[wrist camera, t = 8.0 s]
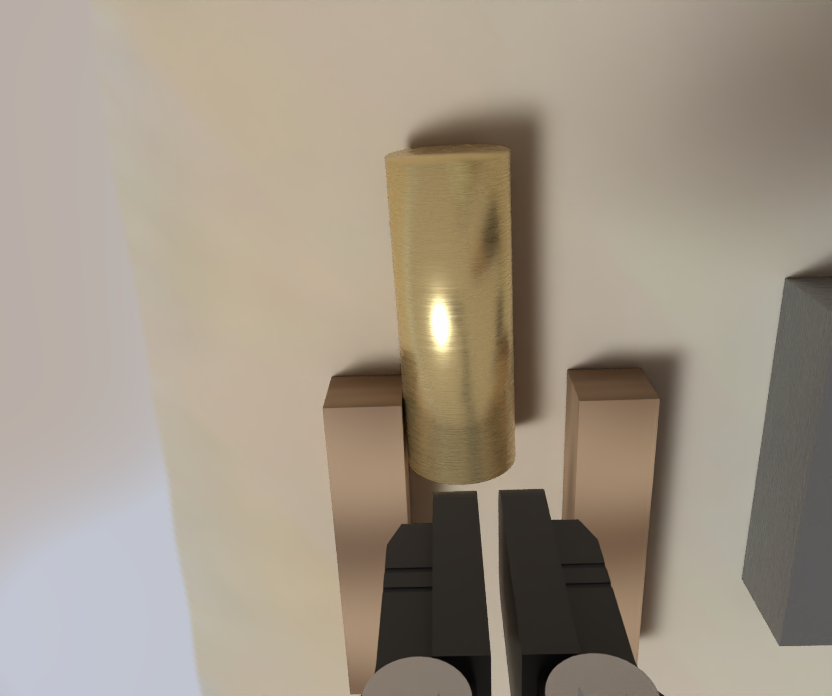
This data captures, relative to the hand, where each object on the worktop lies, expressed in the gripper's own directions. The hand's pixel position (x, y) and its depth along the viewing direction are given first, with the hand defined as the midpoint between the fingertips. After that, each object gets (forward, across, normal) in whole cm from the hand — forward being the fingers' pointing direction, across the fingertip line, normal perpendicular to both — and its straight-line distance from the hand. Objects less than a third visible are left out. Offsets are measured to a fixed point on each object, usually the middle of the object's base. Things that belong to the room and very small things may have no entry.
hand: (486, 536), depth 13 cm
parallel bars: (+14, -1, +10) cm, 17 cm away
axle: (+14, -1, +1) cm, 14 cm away
